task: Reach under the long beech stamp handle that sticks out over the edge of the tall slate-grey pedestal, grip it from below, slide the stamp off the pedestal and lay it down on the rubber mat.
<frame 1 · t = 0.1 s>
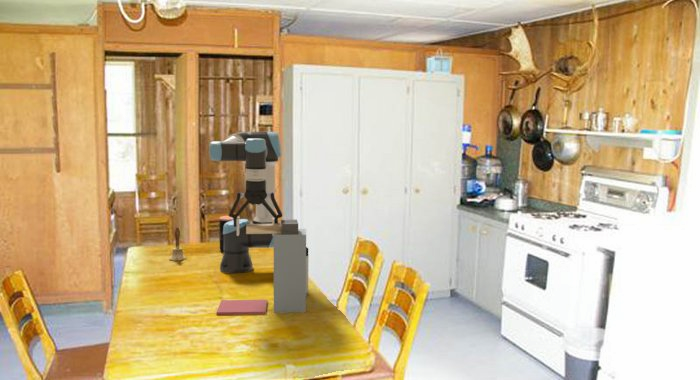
hand: (255, 235, 219), 28 cm above the table, tool pointing down, fingers open, 13 cm apart
stamp: (273, 232, 215), point 30 cm above the table, touching pedestal
coffee jar: (230, 251, 303), on the table
pedestal: (290, 307, 221), on the table
travel mug: (300, 294, 238), on the table
hand bell: (177, 259, 286), on the table
mat: (242, 308, 220), on the table
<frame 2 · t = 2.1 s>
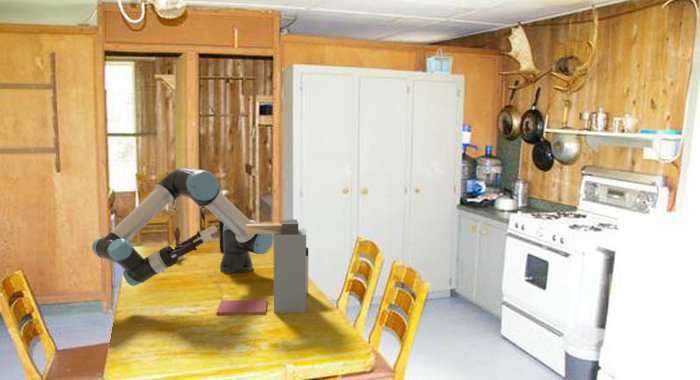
hand: (213, 231, 216), 30 cm above the table, tool pointing upward, fingers open, 13 cm apart
nothing on the table moved.
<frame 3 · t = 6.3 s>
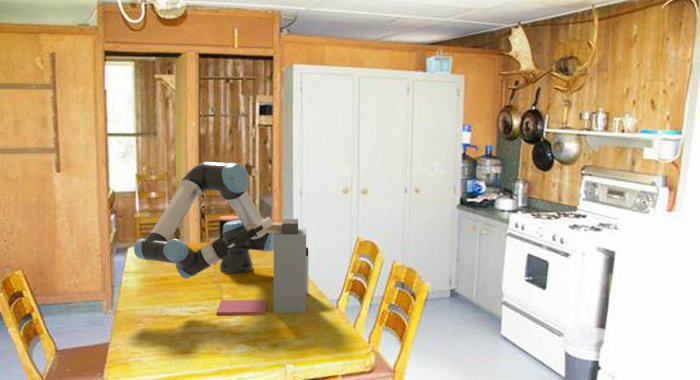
hand: (270, 220, 216), 34 cm above the table, tool pointing upward, fingers closed on stamp, 3 cm apart
stamp: (274, 231, 216), point 30 cm above the table, touching gripper
everything else where it was.
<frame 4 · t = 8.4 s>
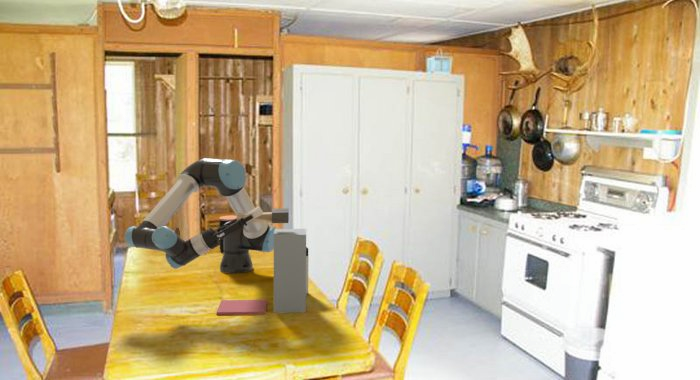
hand: (260, 210, 214), 38 cm above the table, tool pointing upward, fingers closed on stamp, 3 cm apart
stamp: (264, 221, 215), point 34 cm above the table, touching gripper
everything else where it was.
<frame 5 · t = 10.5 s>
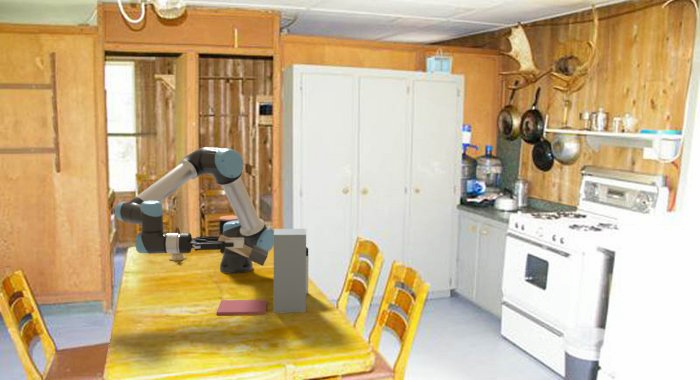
hand: (243, 242, 216), 26 cm above the table, tool horizontal, fingers closed on stamp, 3 cm apart
stamp: (241, 253, 216), point 22 cm above the table, tilted 25°, touching gripper
everything else where it was.
when the fingers open (11 cm above the table, at t = 13.5 s): stamp drops 6 cm, resting on mat.
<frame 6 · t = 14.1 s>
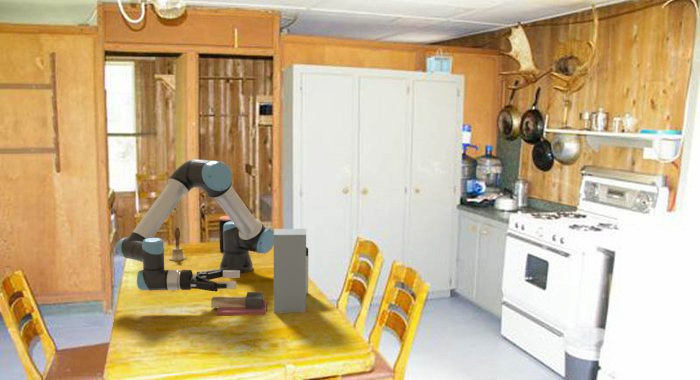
hand: (238, 279, 218), 11 cm above the table, tool horizontal, fingers open, 13 cm apart
stamp: (238, 305, 220), point 1 cm above the table, touching mat
everything else where it was.
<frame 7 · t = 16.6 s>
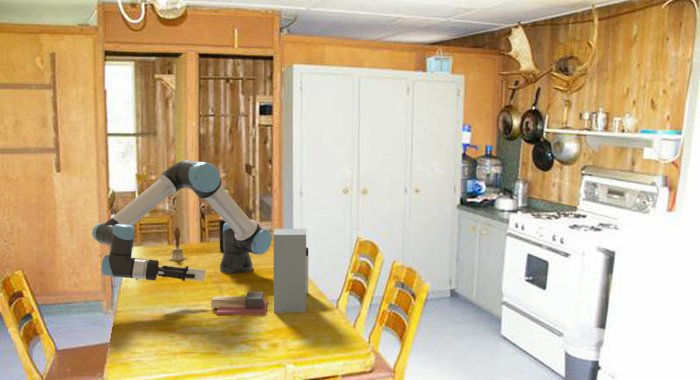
hand: (204, 275, 219), 13 cm above the table, tool horizontal, fingers open, 13 cm apart
nothing on the table moved.
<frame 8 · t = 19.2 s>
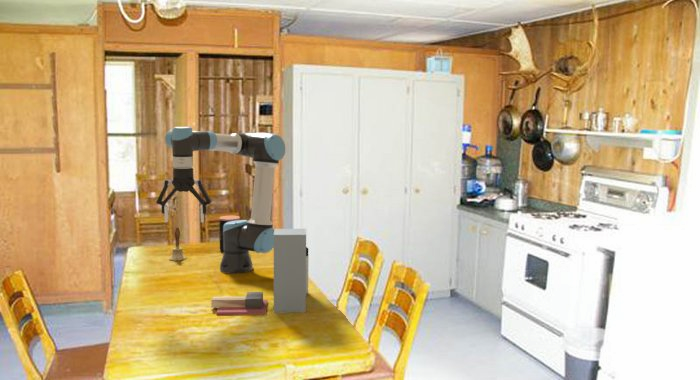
hand: (184, 221, 223), 32 cm above the table, tool pointing down, fingers open, 13 cm apart
nothing on the table moved.
at the end: stamp inside the target area (1.6 cm from its centre), point 1.0 cm above the table; stamp touching mat; the gripper is holding nothing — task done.
